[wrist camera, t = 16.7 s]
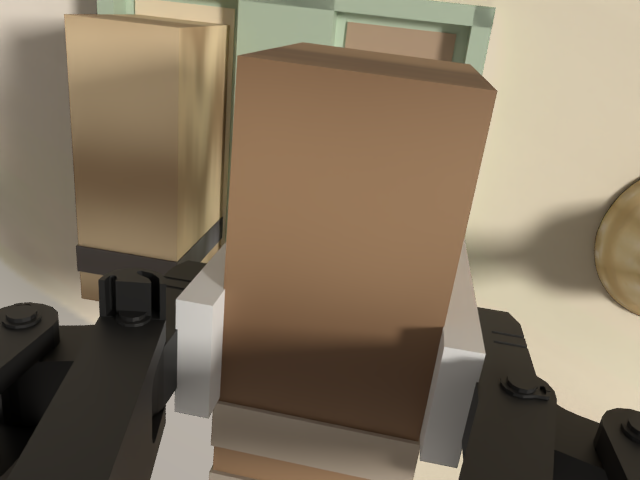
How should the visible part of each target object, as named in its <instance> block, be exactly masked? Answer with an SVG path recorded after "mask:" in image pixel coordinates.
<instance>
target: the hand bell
mask: <svg viewBox="0 0 640 480" xmlns="http://www.w3.org/2000/svg"><path fill="white" fill-rule="evenodd" d="M594 254H595V265H596V269H597V272H598V276H599V278H600V280H601V282H602V284H603V286H604V287H605V289H606V291H607V292H608V293H609V294H610V295H611V296H612V297H613V298H614V299H615V300H616V301H617V302H618V303H619V304H620V305H622V306H623V307H625V308H626V309H628V310H629V311H631V312H633V313H635V314H637V315H639V316H640V180H639V181H638V182H636V183H634V184H633V185H631V186H630V187H629V188H628V189H627V190H626V191H624V192H623V193H622V194H621V195H620V196H619V197H618V198H617V200H616V201H615V202H614V203H613V205H612V206H611V207H610V209H609V210H608V211H607V213H606V215H605V216H604V218H603V220H602V222H601V225H600V227H599V229H598V232H597V235H596V239H595V250H594Z"/></svg>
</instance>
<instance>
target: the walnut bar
mask: <svg viewBox="0 0 640 480" xmlns="http://www.w3.org/2000/svg"><path fill="white" fill-rule="evenodd" d="M496 94H497V90H496V89H495V88H494V87H493V86H492V85H491V84H490V83H489V82H488V81H487V80H486V79H485V78H484V77H483V76H482V75H481V74H480V73H479V72H478V71H477V70H476V69H475V68H474V67H473V66H472V65H471V64H464V63H456V62H449V61H441V60H434V59H426V58H419V57H411V56H404V55H396V54H388V53H381V52H373V51H366V50H358V49H351V48H343V47H335V46H328V45H320V44H313V43H305V42H301V43H296V44H291V45H286V46H282V47H277V48H272V49H267V50H262V51H257V52H252V53H247V54H242V55H237V69H236V86H235V103H234V120H233V137H232V154H231V170H230V187H229V204H228V221H227V238H226V255H225V272H224V289H225V300H224V321H223V342H222V362H221V383H220V398H219V400H218V402H217V404H216V405H215V407H214V409H213V416H212V435H211V445H212V446H214V459H213V466H212V468H211V470H210V472H209V480H413V477H414V473H415V468H416V464H417V459H418V455H419V451H420V432H421V428H422V423H423V419H424V415H425V410H426V406H427V401H428V396H429V392H430V387H431V382H432V377H433V373H434V368H435V363H436V358H437V354H438V349H439V344H440V339H441V335H442V330H443V327H444V326H445V321H446V317H447V312H448V308H449V303H450V299H451V295H452V290H453V286H454V281H455V277H456V272H457V268H458V263H459V259H460V255H461V250H462V246H463V241H464V237H465V232H466V228H467V223H468V219H469V215H470V210H471V206H472V201H473V197H474V192H475V188H476V183H477V179H478V175H479V170H480V166H481V161H482V157H483V152H484V148H485V143H486V139H487V134H488V130H489V126H490V121H491V117H492V112H493V108H494V103H495V99H496Z"/></svg>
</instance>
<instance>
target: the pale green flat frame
mask: <svg viewBox="0 0 640 480" xmlns="http://www.w3.org/2000/svg"><path fill="white" fill-rule="evenodd" d="M495 9H496V8H494V7H485V6H476V5H467V4H457V3H448V2H439V1H430V0H97V14H139V15H147V16H156V17H165V18H173V19H182V20H191V21H199V22H208V23H216V24H225V25H230V29H229V55H228V80H227V106H226V131H225V156H224V182H223V207H222V217H223V231H222V239H221V247H222V246H223V245H224V243H225V242H226V238H227V221H228V204H229V187H230V170H231V154H232V137H233V120H234V103H235V86H236V69H237V55H242V54H247V53H252V52H257V51H262V50H267V49H272V48H277V47H282V46H286V45H291V44H296V43H301V42H305V43H313V44H320V45H328V46H335V47H343V48H351V49H358V50H366V51H373V52H381V53H388V54H396V55H404V56H411V57H419V58H426V59H434V60H441V61H449V62H456V63H464V64H471V65H472V66H473V67H474V68H475V69H476V70H477V71H478V72H479V73H480V74H481V75H482V73H483V69H484V64H485V59H486V54H487V49H488V44H489V39H490V34H491V29H492V24H493V19H494V14H495Z"/></svg>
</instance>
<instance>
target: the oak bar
mask: <svg viewBox="0 0 640 480" xmlns="http://www.w3.org/2000/svg"><path fill="white" fill-rule="evenodd" d="M64 19H65V36H66V52H67V68H68V84H69V100H70V117H71V133H72V149H73V165H74V182H75V198H76V214H77V230H78V245H77V246H76V253H77V268H78V271H80V279H81V295H82V298H83V299H89V300H95V301H99V286H98V280H99V279H100V278H101V277H102V276H103V275H104V274H107V273H109V272H112V271H114V270H119V269H125V268H144V269H150V270H153V271H156V272H158V273H161V274H162V275H163V276H164V275H165V274H166V273H167V272H168V271H169V270H170V269H171V268H172V267H174V266H176V265H178V264H181V263H183V262H185V261H187V260H190V261H196V262H202V263H208V262H209V261H210V260H211V258H212V257H213V256H214V255H215V254H216V253H217V251H218V250H219V249H220V248H221V239H222V231H223V217H222V207H223V182H224V156H225V131H226V106H227V80H228V55H229V29H230V25H225V24H216V23H208V22H199V21H191V20H182V19H173V18H165V17H156V16H147V15H139V14H64Z"/></svg>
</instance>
